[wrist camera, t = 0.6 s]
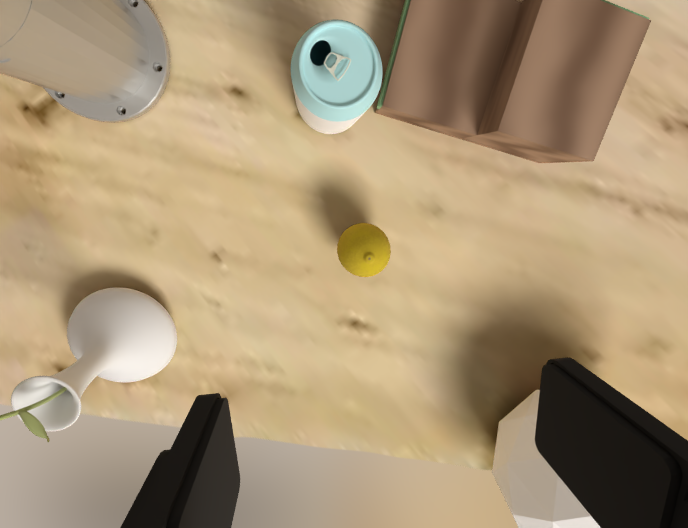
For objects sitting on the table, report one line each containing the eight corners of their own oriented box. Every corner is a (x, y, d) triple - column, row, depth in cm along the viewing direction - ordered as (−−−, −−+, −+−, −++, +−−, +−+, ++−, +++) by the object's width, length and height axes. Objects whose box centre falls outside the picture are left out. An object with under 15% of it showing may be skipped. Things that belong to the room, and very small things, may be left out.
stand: (372, 111, 37) (388, 96, 30) (406, -18, 35) (434, -72, 27) (539, 163, 41) (593, 161, 33) (582, 48, 38) (652, 16, 30)
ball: (534, 369, 56) (717, 413, 41) (517, 502, 53) (706, 602, 38) (476, 362, 44) (707, 421, 29) (450, 535, 41) (691, 701, 26)
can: (298, 136, 37) (294, 120, 26) (292, 62, 36) (284, 10, 24) (364, 133, 38) (388, 116, 26) (361, 60, 36) (386, 8, 25)
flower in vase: (200, 316, 41) (49, 517, 17) (152, 388, 43) (-46, 662, 19) (93, 255, 38) (-268, 395, 14) (46, 335, 40) (-346, 579, 16)
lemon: (356, 208, 40) (367, 217, 32) (391, 239, 41) (410, 255, 34) (324, 245, 41) (328, 262, 33) (360, 274, 42) (371, 297, 34)
